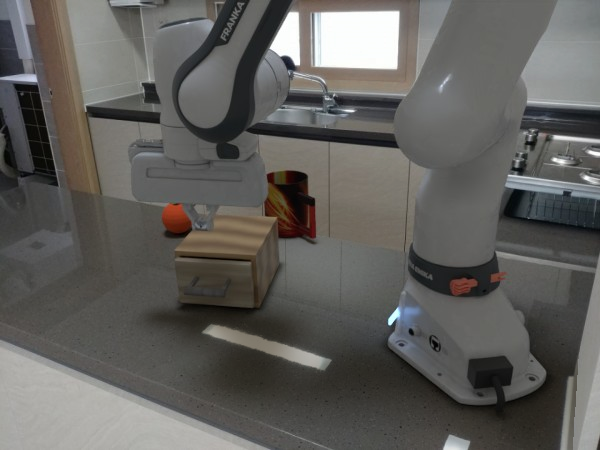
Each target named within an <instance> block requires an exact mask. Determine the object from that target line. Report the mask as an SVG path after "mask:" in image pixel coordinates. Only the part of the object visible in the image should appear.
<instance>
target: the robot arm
mask: <svg viewBox="0 0 600 450" xmlns="http://www.w3.org/2000/svg"><path fill="white" fill-rule="evenodd" d="M297 1H298V0H225V1H224V3H223V5H222V7H221V9H220V12H219V13H218V15H217V17H216V19H215V21H213V20H212V19H210V18H209V17H208V18H207V17H203V16H199V17H190V18H185V19H180V20H174V21H170V22H167V23H165V24H162V25H161V26H159V28H158V29H156V31H155V34H154V36H153V44H152V45H153V46H152V63H153V75H154V84H155V85H154V86H155V91H156V94H157V96H158V98H159V103H160V114H159V115H160V116H159V125H160V133H161V139H160V138H159V139H157V138H155V139H146V138H138V139H135V141H133V142H131V143H130V145H128V149H127V154H128V155H127V156H128V162H129V164H130V186H131V187H130V188H131V194H132V197H134V199H135V200H136V201H137V202H140V203H141V202H142V203H161V204H162V203H163V204H170V203H178V204H182V208H183V211H184V212H185V214H186V215H187V216H188V218H189V219H190V220H191V223H192V226H191V229H192V230H195V231H212V230H213V229H214V216H215V214H217V213H218V211H219V210H220V209H219V208H220V207H239V208H261V206H262V205H264V202H265V200H266V199H267V197H268V182H267V175H266V174H267V169H266V165H265V162H264V159H263V157H262V156H261V154H259V152H257V149H258V147H259V137H258V135H256V134H253V133H251V132H248V131H247V130H248V129H249V128H251V127H252V126H254V125H256V124H257V123H259V122H262V121H263V120H264V119H266V118H268V117H269V116H271V115H272V114H274V113H275V112H276V111H278V110H279V109H281V107H283V105H284V104H285V103H286V101H287V99H288V97H289V94H290V89H291V78H290V73H289V70H288V67H287V64H286V63H285V62H284V60H283V59H282V57H281V56H280V55H279V54H278V53H277V52H276V51H274V50H273V49H271V47H272V45H273V43H274V41H275V39H276V37H277V35H278V34H279V32H280V30H281V28H282V27H283V25H284V22H285V21H286V19H287V18H288V15H289V13H290V11H291V10H292V8H293V7H294V6H295V4H296V3H297ZM558 2H559V0H451V1H450V4H449V7H448V9H447V12H446V13H445V17H444V19H443V21H442V23H441V25H440V28H439V30H438V32H437V33H436V36H435V38H434V39H433V42H432V44H431V46H430V47H429V50H428V52H427V54H426V56H425V59H424V61H423V62H422V65H421V67H420V70H419V72H418V74H417V75H416V78H415V80H414V82H413V84H412V86H411V87H410V89H409V90H408V92H407V93H406V94H405V96H404V97H403V99H402V100H401V101H400V102H399V104H398V106H397V108H396V110H395V114H394V118H393V126H392V127H393V135H394V139H395V142H396V144H397V146H398V148H399V150H400V152H401V153H402V154H403V155H404V156H405V157H406V158H407V159H408V160H409V161H410V162H412V164H415V165H417V166H418V167H421V168H424V169H425V172H424V175H423V176H422V177H423V178H422V180H421V182H420V184H419V186H418V188H417V190H416V193H415V200H414V216H413V232H412V233H413V234H412V242H411V243H410V245H409V249H408V253H407V271H408V273H409V275H408V277H407V280H406V283H405V284H404V287H403V288H402V290H401V292H400V296H399V302H398V306H397V308H396V310H394V312H393V313H392V314H391V315H390V317H388V326H391V325H392V324H393V322H394V321H395V327H394V331H392V333H391V334H390V335H389V337H388V340H387V347H388V349H390V350H391V351H393V352H394V354H396V355H397V356H399V357H400V358H401V359H402V360H404V361H405V362H406V363H408V364H409V365H410V366H411V367H412V368H414V369H415V370H416V371H417V372H419V373H420V374H422V375H423V376H424V377H425V378H426V379H428V380H429V381H430V382H431V383H433V384H434V385H435V386H436V387H438V388H439V389H440V390H442V391H443V392H444V393H445V394H447V395H448V396H449V397H450V398H452V399H453V400H454V401H456V402H457V403H459V404H463V405H469V406H490V405H495V406H494V411H495V412H496V413H498V414H500V413H503V412H504V409H505V406H506V402H508V401H509V402H510V401H513V400H516V399H519V398H522V397H524V396H527V395H530V394H532V393H533V392H535V391H537V390H538V389H540V388H541V387H542V386H543V384H544V383H545V381H546V379H547V371H546V369H545V368H544V367H543V365H542V364H541V363H540V362H539V361H538V360H537V359H536V357H534V355H533V354H532V353H531V351H530V349H531V343H530V342H531V341H530V335H529V331H528V329H527V328H526V326H525V323H526V320H525V318H526V317H525V315H524V313H523V312H522V311H521V310H519V309H515V308H514V306H513V304H512V303H511V301H510V300H509V298H508V296H507V294H506V293H505V291H504V289H503V287H502V286H501V281H503V280H506V279H507V278H506V277H504V276H505V275H507V271H501V272H500V266H499V260H498V255H497V252H496V250H495V249H496V242H497V235H498V234H497V233H498V225H499V219H500V211H501V205H502V199H503V195H504V191H505V187H506V184H507V182H508V181H507V180H508V177H509V174H510V170H511V166H512V162H513V160H514V155H515V151H516V147H517V143H518V138H519V133H520V130H521V125H522V121H523V117H524V114H525V111H526V108H527V104H528V103H527V102H528V88H527V85H526V82H525V80H524V79H523V77H522V76H521V75H522V73H523V72H524V70H525V68H526V67H527V64H528V62H529V60H530V58H531V56H532V55H533V53H534V51H535V49H536V47H537V46H538V43H539V42H540V40H541V39H542V37H543V35H544V34H545V33H546V31H547V29H548V27H549V25H550V23H551V19H552V17H553V14H554V12H555V9H556V6H557V4H558ZM197 205H200V206H205V210H206V212H209V213H208V214H209V215H208V217H204V216H202V215H199V213H198V211H197V210H196V208H195V207H196V206H197ZM192 230H191V231H192Z"/></svg>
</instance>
